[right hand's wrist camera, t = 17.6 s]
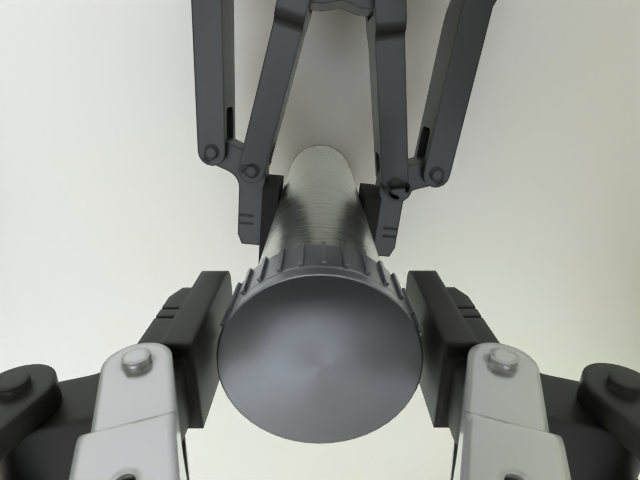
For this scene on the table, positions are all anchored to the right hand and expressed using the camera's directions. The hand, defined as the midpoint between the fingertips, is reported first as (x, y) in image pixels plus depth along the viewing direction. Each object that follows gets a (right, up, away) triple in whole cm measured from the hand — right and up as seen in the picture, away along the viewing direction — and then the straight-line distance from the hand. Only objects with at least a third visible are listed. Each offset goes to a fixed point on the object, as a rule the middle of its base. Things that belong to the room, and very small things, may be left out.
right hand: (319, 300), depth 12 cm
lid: (0, -1, -2) cm, 3 cm away
